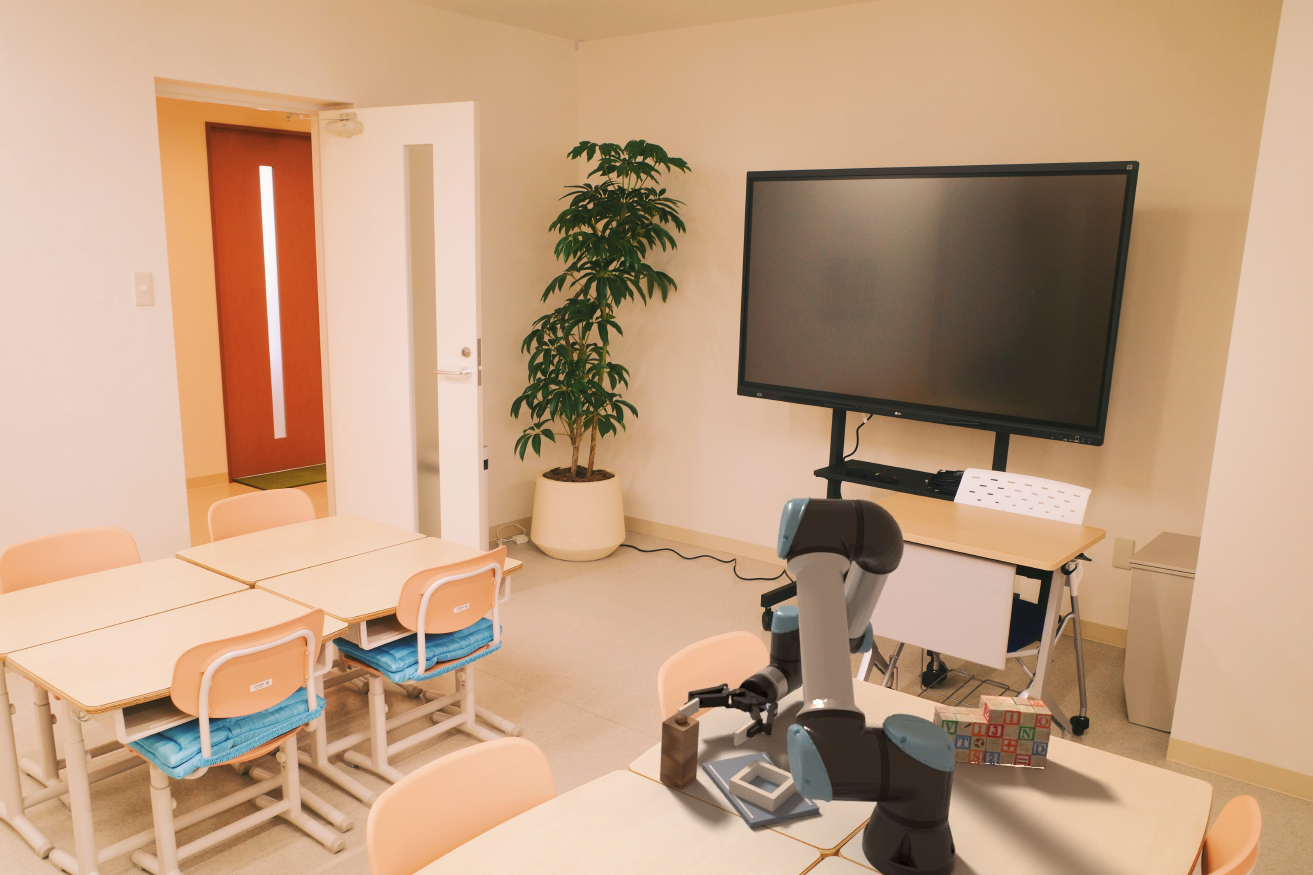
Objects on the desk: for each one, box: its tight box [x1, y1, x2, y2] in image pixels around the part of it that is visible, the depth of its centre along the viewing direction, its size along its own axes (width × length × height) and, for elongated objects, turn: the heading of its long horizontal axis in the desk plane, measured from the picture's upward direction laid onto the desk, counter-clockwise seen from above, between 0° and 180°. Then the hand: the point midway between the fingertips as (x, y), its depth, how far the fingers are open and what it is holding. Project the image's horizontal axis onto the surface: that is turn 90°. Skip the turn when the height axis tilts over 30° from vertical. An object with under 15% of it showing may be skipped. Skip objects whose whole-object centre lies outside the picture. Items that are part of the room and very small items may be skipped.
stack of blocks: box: [932, 694, 1053, 769], centre depth 180 cm, size 21×6×12 cm, turn 85°
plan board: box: [701, 751, 820, 829], centre depth 167 cm, size 20×14×1 cm
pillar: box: [659, 711, 700, 791], centre depth 168 cm, size 5×5×13 cm
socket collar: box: [729, 759, 797, 812], centre depth 164 cm, size 9×9×2 cm
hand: (706, 727), depth 175 cm, fingers open, 13 cm apart
